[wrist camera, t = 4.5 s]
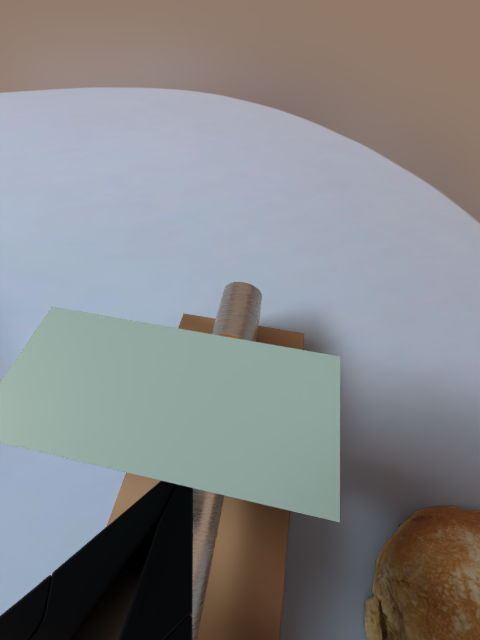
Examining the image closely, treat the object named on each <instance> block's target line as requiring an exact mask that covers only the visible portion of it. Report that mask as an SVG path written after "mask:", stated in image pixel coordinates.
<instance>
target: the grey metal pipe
mask: <svg viewBox="0 0 480 640" xmlns="http://www.w3.org/2000/svg"><path fill="white" fill-rule="evenodd" d="M261 301H262V294H261V292H260V291H259V290H258V289H257V288H256V287H254V286H253V285H251V284H248V283H244V282H233V283H230V284H228V285H227V286H226V287H225V289H224V292H223V296H222V299H221V303H220V306H219V310H218V313H217V317H216V320H215V324H214V327H213V331H212V334H213V335H219V336H225V337H230V338H236V339H242V340H248V341H254V342H256V338H257V333H258V327H259V319H260V310H261ZM224 496H225V495H221V494H216V493H212V492H208V491H204V490H199V489H195V488H193V602H192V618H193V627H192V640H197V638H198V633H199V628H200V623H201V617H202V612H203V607H204V601H205V596H206V591H207V585H208V580H209V575H210V570H211V564H212V559H213V554H214V548H215V543H216V538H217V533H218V527H219V522H220V517H221V511H222V506H223V501H224Z"/></svg>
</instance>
